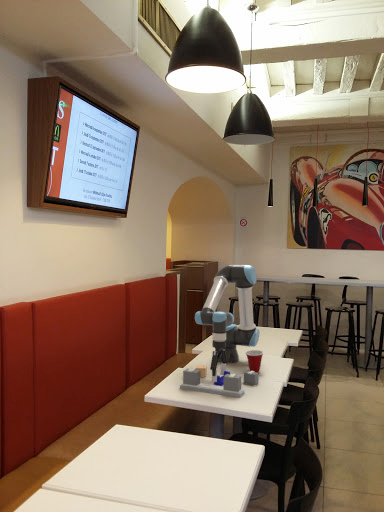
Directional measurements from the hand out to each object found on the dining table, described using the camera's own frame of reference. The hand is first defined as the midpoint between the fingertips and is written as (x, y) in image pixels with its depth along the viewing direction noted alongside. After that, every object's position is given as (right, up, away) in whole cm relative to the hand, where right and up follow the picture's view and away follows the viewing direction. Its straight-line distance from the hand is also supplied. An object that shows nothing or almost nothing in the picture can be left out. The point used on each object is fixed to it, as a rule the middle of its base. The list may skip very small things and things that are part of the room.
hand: (218, 378), depth 252 cm
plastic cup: (+23, -3, +24) cm, 33 cm away
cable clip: (+1, -3, 0) cm, 4 cm away
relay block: (+18, -3, +1) cm, 18 cm away
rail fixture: (-5, -3, -12) cm, 14 cm away
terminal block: (-10, -2, +15) cm, 18 cm away
